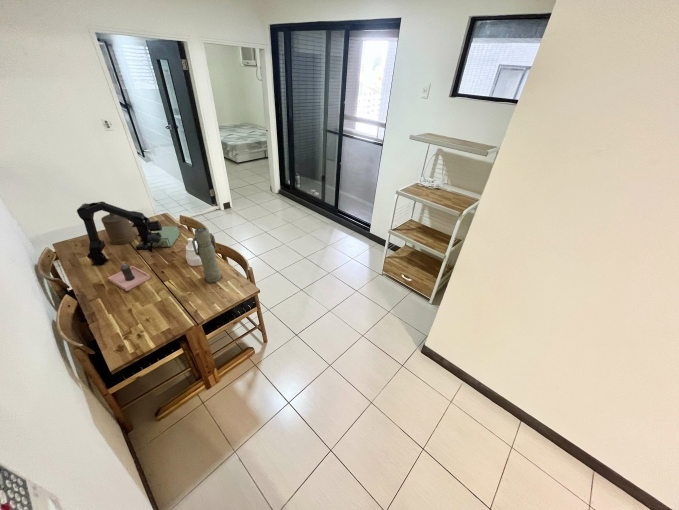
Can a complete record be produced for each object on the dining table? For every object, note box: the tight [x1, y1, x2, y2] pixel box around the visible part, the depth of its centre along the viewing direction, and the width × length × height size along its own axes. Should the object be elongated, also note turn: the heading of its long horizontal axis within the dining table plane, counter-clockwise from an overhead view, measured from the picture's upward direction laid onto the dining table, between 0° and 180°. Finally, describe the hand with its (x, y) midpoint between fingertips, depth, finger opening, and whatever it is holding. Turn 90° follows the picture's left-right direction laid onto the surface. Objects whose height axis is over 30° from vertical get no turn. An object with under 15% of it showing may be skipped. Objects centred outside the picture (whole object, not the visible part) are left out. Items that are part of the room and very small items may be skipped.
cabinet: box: [153, 225, 180, 248], centre depth 201 cm, size 18×13×7 cm
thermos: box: [192, 226, 222, 284], centre depth 161 cm, size 9×12×35 cm
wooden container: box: [100, 213, 137, 245], centre depth 195 cm, size 15×15×22 cm
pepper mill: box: [120, 263, 135, 281], centre depth 162 cm, size 5×5×11 cm
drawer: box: [153, 239, 170, 248], centre depth 198 cm, size 21×11×5 cm, turn 7°
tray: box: [107, 265, 152, 292], centre depth 165 cm, size 17×14×2 cm
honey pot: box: [185, 237, 203, 267], centre depth 180 cm, size 13×13×18 cm
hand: (151, 251), depth 184 cm, fingers closed
